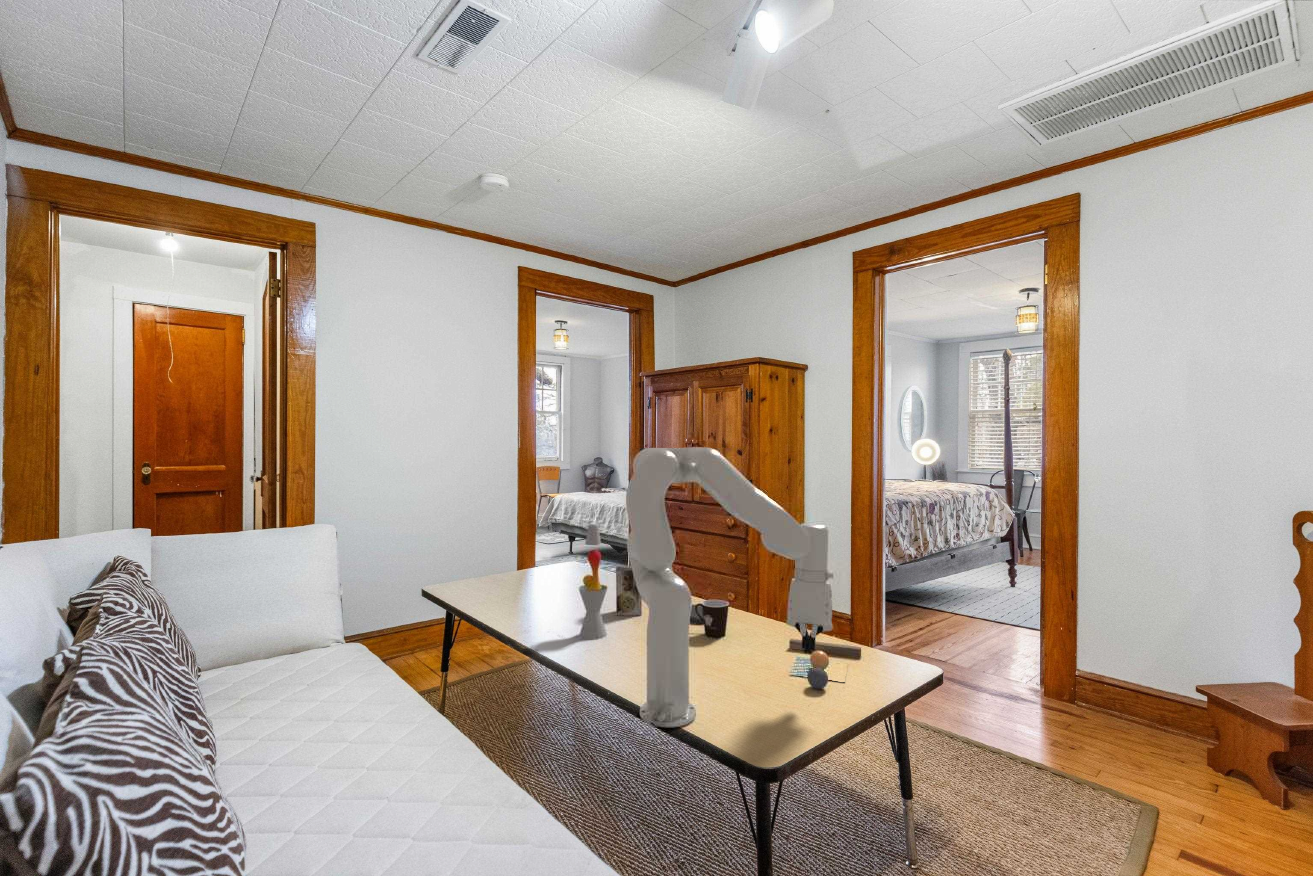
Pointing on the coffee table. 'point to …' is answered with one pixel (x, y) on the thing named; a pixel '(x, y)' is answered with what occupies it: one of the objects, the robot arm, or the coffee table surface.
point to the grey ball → (817, 678)
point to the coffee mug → (714, 617)
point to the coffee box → (627, 593)
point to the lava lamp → (593, 591)
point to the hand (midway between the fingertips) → (808, 652)
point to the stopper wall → (828, 648)
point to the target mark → (806, 661)
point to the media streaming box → (694, 617)
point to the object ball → (819, 660)
